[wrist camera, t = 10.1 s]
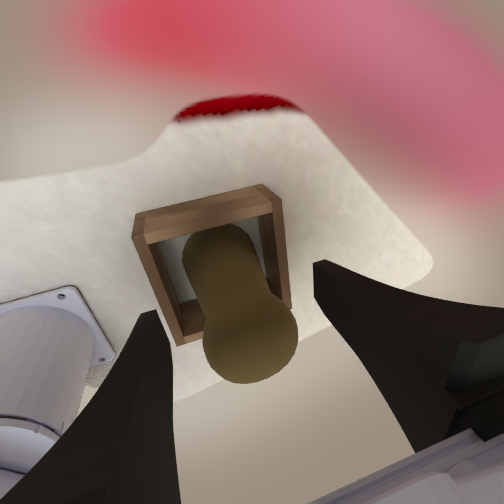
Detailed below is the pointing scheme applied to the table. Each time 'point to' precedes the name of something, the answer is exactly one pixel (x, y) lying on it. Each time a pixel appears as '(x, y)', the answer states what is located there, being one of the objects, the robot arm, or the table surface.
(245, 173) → the table surface
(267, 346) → the olive game pawn
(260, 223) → the walnut stand
